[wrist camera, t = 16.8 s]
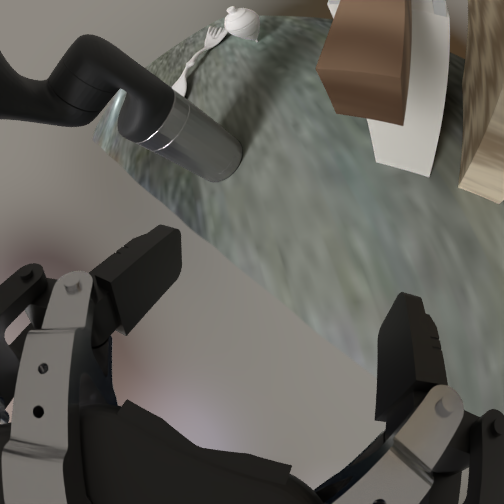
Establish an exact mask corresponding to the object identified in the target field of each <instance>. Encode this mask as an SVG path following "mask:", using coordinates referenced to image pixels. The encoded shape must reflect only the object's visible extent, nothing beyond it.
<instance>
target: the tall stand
mask: <svg viewBox="0 0 504 504" xmlns="http://www.w3.org/2000/svg"><path fill="white" fill-rule="evenodd" d="M462 90H463V141H462V156H461V167H460V176H459V184H458V188H461V189H464V190H466V191H469V192H471V193H474V194H476V195H479V196H481V197H484V198H486V199H488V200H491V201H493V202H495V203H498V204H500V203H501V202H502V201H503V200H504V0H468V37H467V49H466V59H465V67H464V74H463V81H462Z"/></svg>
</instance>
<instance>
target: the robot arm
mask: <svg viewBox="0 0 504 504" xmlns="http://www.w3.org/2000/svg"><path fill="white" fill-rule="evenodd" d="M120 88H121V89H123V90H125V91H126V92H127V94H126V98H125V101H124V103H123V106H122V108H121V111H120V113H119V117H118V131H119V133H120V134H121V135H122V136H123V137H125V138H126V139H128V140H130V141H132V142H135V143H137V144H139V145H141V146H143V147H145V148H147V149H149V150H151V151H153V152H155V153H157V154H159V155H161V156H162V157H164V158H166V159H168V160H170V161H172V162H174V163H176V164H178V165H180V166H182V167H184V168H185V169H187V170H189V171H191V172H193V173H195V174H197V175H198V176H200V177H202V178H204V179H206V180H208V181H210V182H219V181H222V180H224V179H226V178H228V177H229V176H230V175H231V174H232V173H233V172H234V171H235V170H236V169H237V167H238V165H239V163H240V161H241V158H242V146H241V144H240V142H239V141H238V140H237V139H236V138H235V137H234V136H232V135H231V134H230V133H229V132H228V131H226V130H225V129H224V128H223V127H222V126H220V125H219V124H218V123H217V122H215V121H214V120H213V119H212V118H210V117H209V116H208V115H207V114H205V113H204V112H203V111H202V110H200V109H199V108H198V107H196V106H195V105H194V104H192V103H191V102H190V101H189V100H187V99H186V98H184V97H183V96H182V95H180V94H179V93H178V92H176V91H175V90H174V89H172V88H171V87H170V86H168V85H167V84H165V83H164V82H163V81H161V80H160V79H159V78H158V77H156V76H155V75H154V74H152V73H151V72H149V71H148V70H147V69H145V68H144V67H142V66H141V65H140V64H138V63H137V62H136V61H134V60H133V59H132V58H130V57H129V56H128V55H126V54H125V53H124V52H122V51H121V50H120V49H118V48H117V47H116V46H114V45H113V44H111V43H110V42H108V41H106V40H105V39H103V38H101V37H98V36H95V35H89V34H87V35H82V36H80V37H79V38H77V40H76V41H75V42H74V43H73V44H72V45H71V46H70V48H69V49H68V50H67V52H66V53H65V54H64V56H63V57H62V59H61V60H60V61H59V63H58V64H57V66H56V67H55V69H54V70H53V72H52V73H51V75H50V77H49V78H48V79H47V80H44V81H38V80H32V79H28V78H26V77H23V76H21V75H19V74H18V73H17V72H16V71H15V70H14V69H13V68H12V67H11V66H10V65H9V63H8V62H7V61H6V60H5V58H4V56H3V55H2V53H1V51H0V119H10V120H21V121H29V122H36V123H43V124H49V125H57V126H65V127H79V126H84V125H87V124H89V123H90V122H91V121H93V120H94V119H95V118H96V117H97V116H98V114H99V113H100V112H101V111H102V109H103V108H104V107H105V106H106V105H107V103H108V102H109V101H110V100H111V98H112V97H113V96H114V95H115V94H116V92H117V91H118V90H119V89H120ZM181 268H182V255H181V233H180V231H179V230H178V229H175V228H171V227H168V226H164V225H158V226H157V227H155V228H154V229H153V230H151V231H150V232H149V233H147V234H144V235H141V236H139V237H136V238H134V239H132V240H131V241H129V242H128V243H127V244H125V245H124V247H121V248H120V249H119V250H117V252H116V253H114V254H113V255H111V256H110V257H108V258H107V259H106V260H105V261H103V262H102V263H101V264H99V265H98V266H97V267H96V268H94V269H93V270H92V271H91V272H89V273H87V272H83V271H73V272H70V273H67V274H65V275H63V276H62V277H60V278H59V279H58V280H55V279H50V278H46V276H45V273H44V270H43V267H42V266H41V265H39V264H35V263H33V264H28V265H25V266H23V267H22V268H20V269H19V270H17V271H16V272H15V273H14V274H13V275H11V276H10V277H9V278H8V279H7V280H6V281H4V283H2V284H1V285H0V423H1V424H0V504H458V501H459V493H460V485H461V473H462V471H463V470H464V469H466V468H468V467H469V479H468V490H467V496H466V499H465V501H464V503H463V504H504V415H503V414H502V413H501V412H500V411H498V410H496V409H491V410H489V411H487V412H486V413H485V414H484V415H482V416H481V417H478V416H476V415H473V414H471V413H469V412H467V411H465V410H464V405H463V402H462V399H461V397H460V395H459V394H458V393H457V392H456V391H455V390H454V389H453V388H451V387H449V386H448V383H447V377H446V370H445V365H444V359H443V354H442V351H441V344H440V341H439V335H438V331H437V327H436V325H435V323H434V322H433V320H432V318H431V317H430V315H428V314H425V310H424V306H423V302H422V299H421V297H418V296H414V295H411V294H407V293H404V292H401V293H399V295H398V296H397V298H396V300H395V302H394V303H393V305H392V307H391V309H390V311H389V313H388V314H387V316H386V318H385V320H384V321H383V323H382V325H381V328H380V330H379V334H378V366H377V394H376V409H375V420H376V421H383V422H386V429H385V430H384V431H382V432H381V433H380V434H379V435H378V436H377V437H376V439H375V440H374V441H373V442H372V443H371V444H370V445H369V446H368V447H367V448H366V449H364V450H363V451H362V452H361V453H360V454H359V455H358V456H357V457H356V458H355V459H354V460H353V461H352V462H350V463H349V464H348V465H347V466H346V467H345V468H344V469H342V470H341V471H340V472H339V473H337V474H335V475H334V476H332V477H331V478H330V479H328V480H327V481H325V482H324V483H322V484H321V485H320V486H319V487H317V488H316V489H314V490H312V489H311V488H310V487H309V486H308V485H307V484H305V483H304V482H303V481H301V480H300V479H298V478H297V477H295V476H293V475H291V474H289V473H290V470H291V467H292V466H291V465H288V464H283V463H279V462H275V461H272V460H268V459H264V458H260V457H257V456H254V455H251V454H246V453H236V452H228V451H220V450H213V449H206V448H201V447H199V446H196V445H195V444H193V443H192V442H191V441H189V440H188V439H187V438H185V437H184V436H183V435H182V434H180V433H179V432H178V431H177V430H175V429H174V428H173V427H171V426H170V425H169V424H168V423H167V422H166V421H164V420H163V419H162V418H160V417H158V416H156V415H154V414H152V413H151V412H149V411H147V410H145V409H143V408H141V407H139V406H138V405H136V404H134V403H133V402H131V401H129V400H126V401H125V403H124V404H123V405H122V407H121V406H118V404H117V399H116V395H115V392H114V389H113V383H112V336H111V334H112V333H113V332H114V331H115V330H116V331H118V332H120V333H122V334H123V335H125V336H127V335H128V334H129V332H130V331H131V330H132V329H133V328H134V327H135V326H136V324H137V323H138V322H139V321H140V320H141V319H142V318H143V317H144V315H145V314H146V313H147V312H148V311H149V310H150V309H151V307H152V306H153V305H154V304H155V303H156V302H157V301H158V300H159V299H160V297H161V296H162V295H163V294H164V293H165V292H166V291H167V290H168V289H169V287H170V286H171V285H172V284H173V283H174V282H175V281H176V280H177V278H178V277H179V275H180V272H181ZM24 310H25V312H26V314H27V316H28V317H29V319H30V321H31V323H30V324H29V325H28V326H27V327H26V328H25V329H24V330H23V331H22V332H21V334H20V335H19V336H18V337H17V338H16V339H15V340H14V341H13V342H12V343H11V344H10V345H8V344H7V343H6V341H5V338H4V333H5V330H6V328H7V327H8V326H9V325H10V324H11V323H12V322H13V321H14V320H15V319H16V318H17V317H18V316H19V315H20V314H21V313H22V312H23V311H24ZM13 398H14V402H13V411H12V422H11V423H8V422H9V414H8V412H6V410H5V409H6V407H7V406H8V404H9V403H10V402H11V400H12V399H13Z"/></svg>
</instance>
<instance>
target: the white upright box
mask: <svg viewBox="0 0 504 504" xmlns="http://www.w3.org/2000/svg"><path fill="white" fill-rule="evenodd" d="M339 3H340V0H328V4H327V5H328V7H329V9H330V12H331V14H332V16H333V18H334V16H335V14H336V11H337V8H338V5H339ZM411 5H412V46H411V65H410V78H409V88H408V97H407V105H406V112H405V119H404V125H403V126H400V125H396V124H391V123H387V122H382V121H377V120H372V119H367V121H368V126H369V130H370V134H371V139H372V144H373V149H374V154H375V159H376V162H377V163H381V164H385V165H389V166H393V167H396V168H400V169H403V170H407V171H410V172H414V173H417V174H420V175H423V176H427V177H429V176H430V173H431V169H432V165H433V161H434V157H435V152H436V148H437V143H438V139H439V134H440V128H441V123H442V117H443V111H444V104H445V97H446V89H447V80H448V68H449V51H450V17H449V13H448V9H447V4H446V0H411Z"/></svg>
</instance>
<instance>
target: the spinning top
mask: <svg viewBox="0 0 504 504" xmlns="http://www.w3.org/2000/svg"><path fill="white" fill-rule="evenodd" d="M227 12H228V13H229V14H228V15H227V16H226V18H225V29H226V30H227V31H228V32H229V33H230V34H232V35H234V36H237V37H239V38H244V39H248V40H256V42H258V40H257V38H258V35H259V29H260V19H259V16H258V15H257V13H256V12H254V11H253V10H251V9H246V8H239V9H236V8H235V7H234V6H231V7H229V8H228V9H227Z"/></svg>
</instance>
